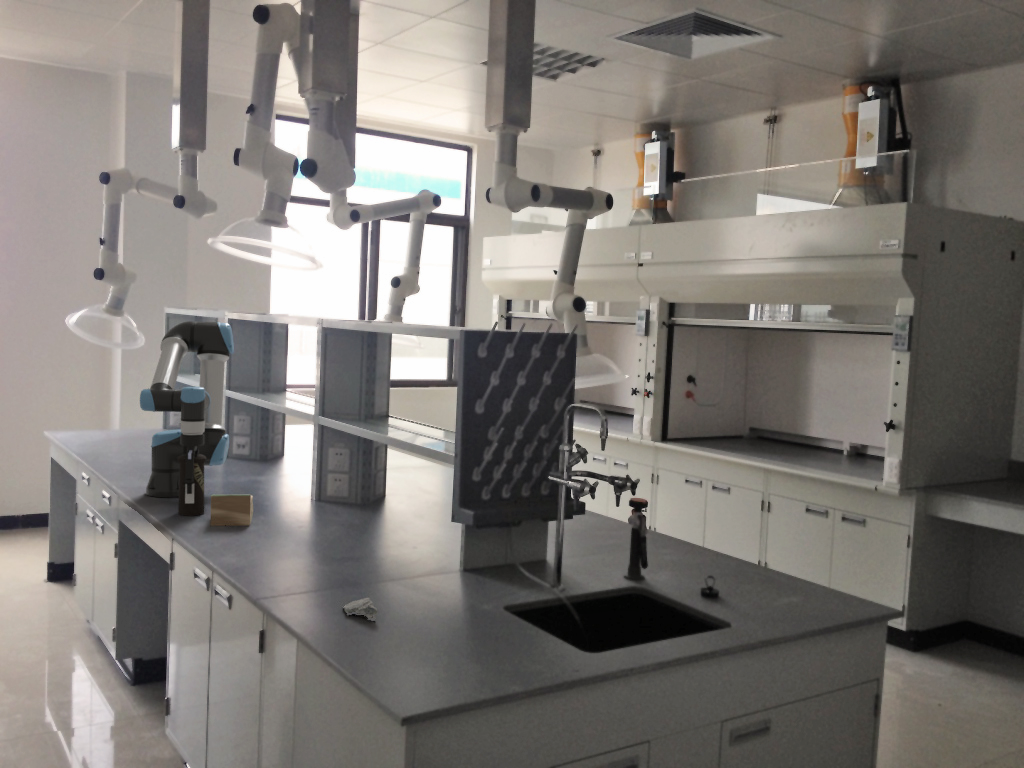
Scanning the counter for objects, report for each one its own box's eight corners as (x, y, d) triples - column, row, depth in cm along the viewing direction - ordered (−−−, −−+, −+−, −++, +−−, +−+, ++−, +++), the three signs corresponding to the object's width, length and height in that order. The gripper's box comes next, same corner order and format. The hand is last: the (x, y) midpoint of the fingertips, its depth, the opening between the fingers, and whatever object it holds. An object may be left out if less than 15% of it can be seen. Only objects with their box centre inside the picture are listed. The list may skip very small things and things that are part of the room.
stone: (350, 627, 199) (351, 609, 199) (340, 608, 211) (341, 591, 210) (378, 625, 202) (379, 607, 201) (367, 606, 213) (368, 589, 213)
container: (196, 517, 294) (197, 457, 293) (171, 514, 296) (172, 455, 295) (210, 511, 303) (211, 453, 301) (186, 509, 304) (187, 451, 303)
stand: (215, 513, 300) (216, 484, 299) (253, 513, 303) (253, 484, 302) (210, 525, 283) (211, 495, 283) (249, 525, 286) (250, 495, 285)
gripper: (184, 428, 307) (183, 493, 309) (175, 437, 286) (174, 507, 288) (207, 429, 309) (206, 493, 310) (200, 438, 288) (199, 507, 289)
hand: (191, 500), depth 299 cm, fingers open, 9 cm apart
